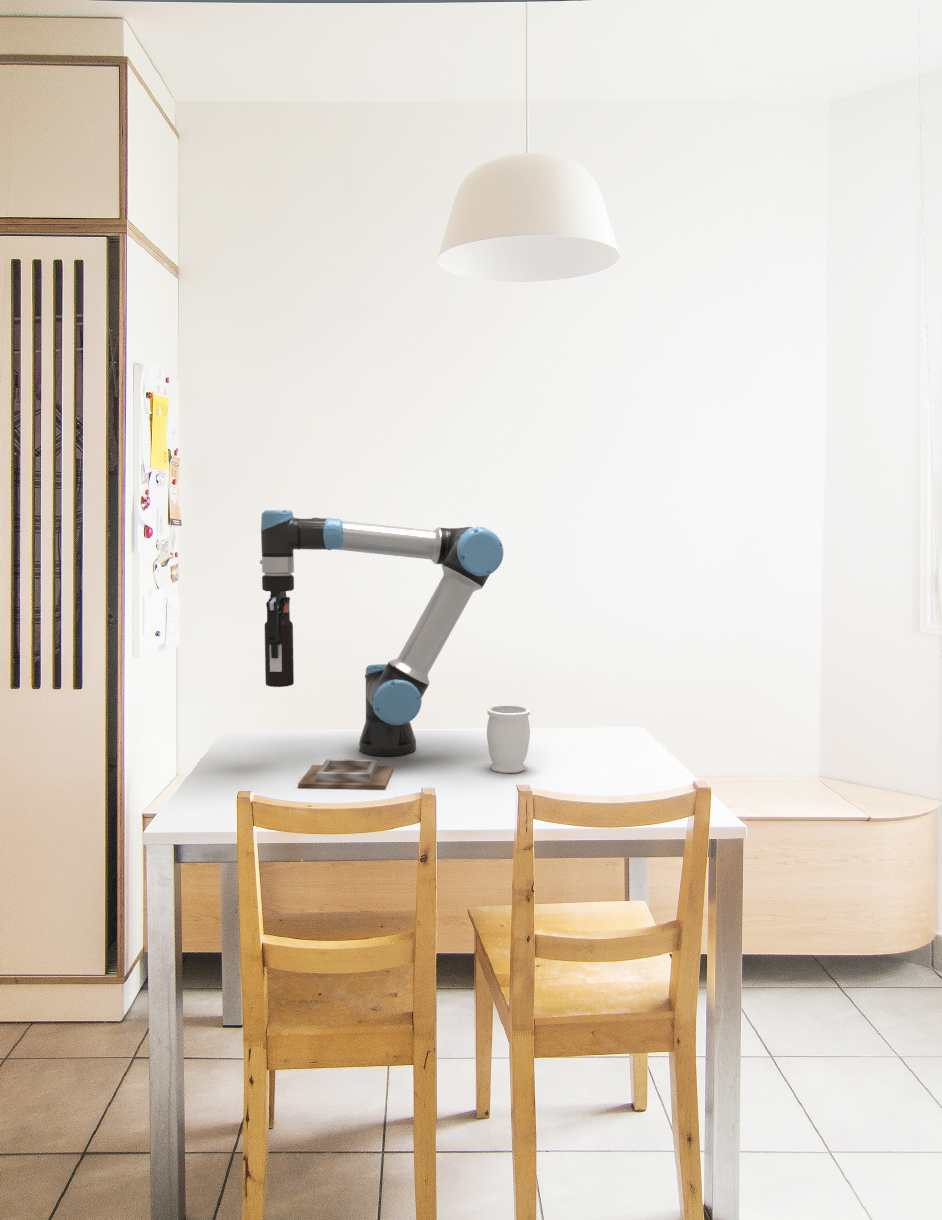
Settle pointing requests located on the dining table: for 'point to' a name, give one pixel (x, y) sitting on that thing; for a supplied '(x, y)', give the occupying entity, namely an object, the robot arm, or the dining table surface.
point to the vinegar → (286, 642)
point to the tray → (347, 775)
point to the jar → (508, 737)
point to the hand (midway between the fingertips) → (279, 668)
